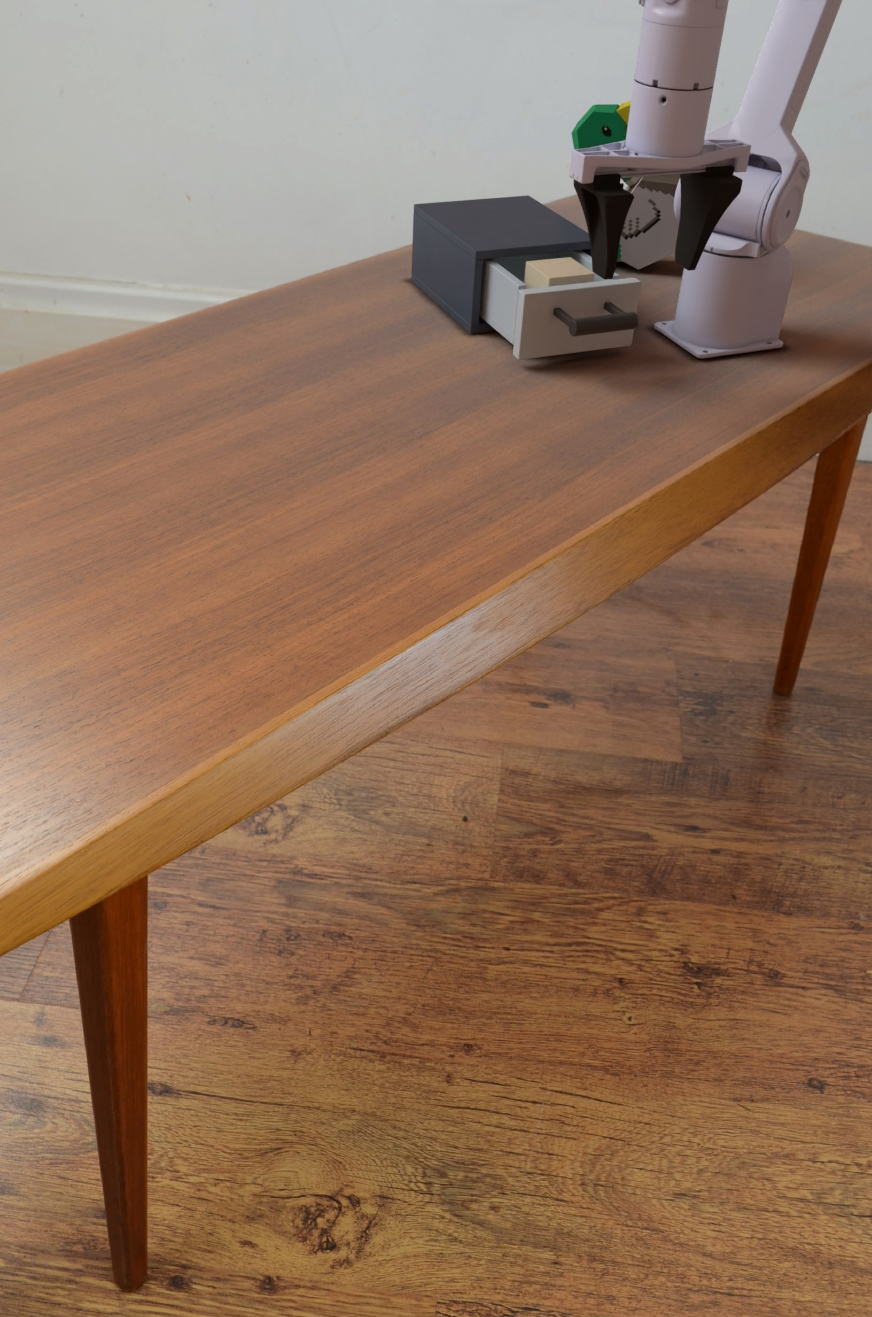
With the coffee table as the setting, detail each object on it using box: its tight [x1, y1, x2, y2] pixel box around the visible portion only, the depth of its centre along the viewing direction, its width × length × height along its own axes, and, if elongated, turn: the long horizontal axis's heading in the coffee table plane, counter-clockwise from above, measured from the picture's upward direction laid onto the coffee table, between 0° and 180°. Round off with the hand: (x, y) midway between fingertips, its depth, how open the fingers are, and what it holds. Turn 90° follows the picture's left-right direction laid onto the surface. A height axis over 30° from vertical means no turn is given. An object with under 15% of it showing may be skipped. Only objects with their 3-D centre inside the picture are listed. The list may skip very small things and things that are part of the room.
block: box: [524, 257, 595, 289], centre depth 103 cm, size 4×4×5 cm
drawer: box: [479, 250, 642, 361], centre depth 103 cm, size 18×11×6 cm, turn 23°
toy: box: [571, 99, 680, 270], centre depth 120 cm, size 6×17×20 cm
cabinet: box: [410, 195, 592, 335], centre depth 111 cm, size 15×13×8 cm
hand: (644, 270), depth 91 cm, fingers open, 7 cm apart
